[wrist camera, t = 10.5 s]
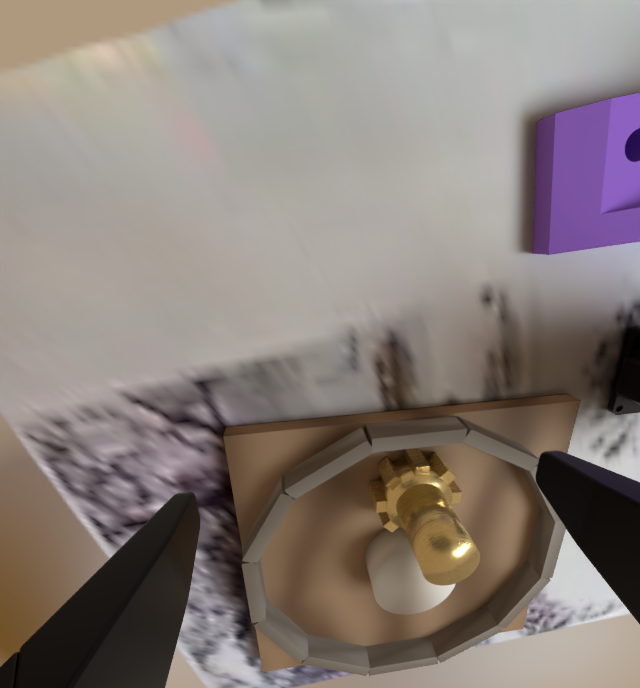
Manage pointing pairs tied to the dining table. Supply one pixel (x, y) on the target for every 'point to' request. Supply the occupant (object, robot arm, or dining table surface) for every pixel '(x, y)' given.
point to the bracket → (588, 177)
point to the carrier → (391, 547)
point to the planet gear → (426, 514)
